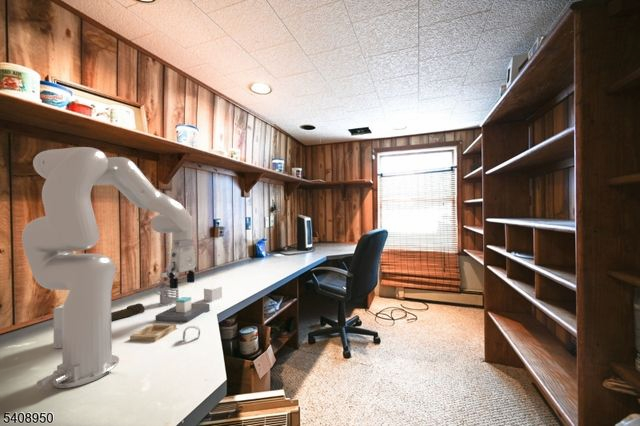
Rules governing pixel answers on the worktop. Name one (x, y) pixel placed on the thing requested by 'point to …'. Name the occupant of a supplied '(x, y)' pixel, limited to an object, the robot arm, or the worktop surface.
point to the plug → (183, 304)
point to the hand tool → (128, 311)
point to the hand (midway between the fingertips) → (182, 285)
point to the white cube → (212, 293)
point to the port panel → (182, 313)
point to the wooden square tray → (153, 332)
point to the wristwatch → (190, 327)
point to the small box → (58, 327)
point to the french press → (167, 299)
